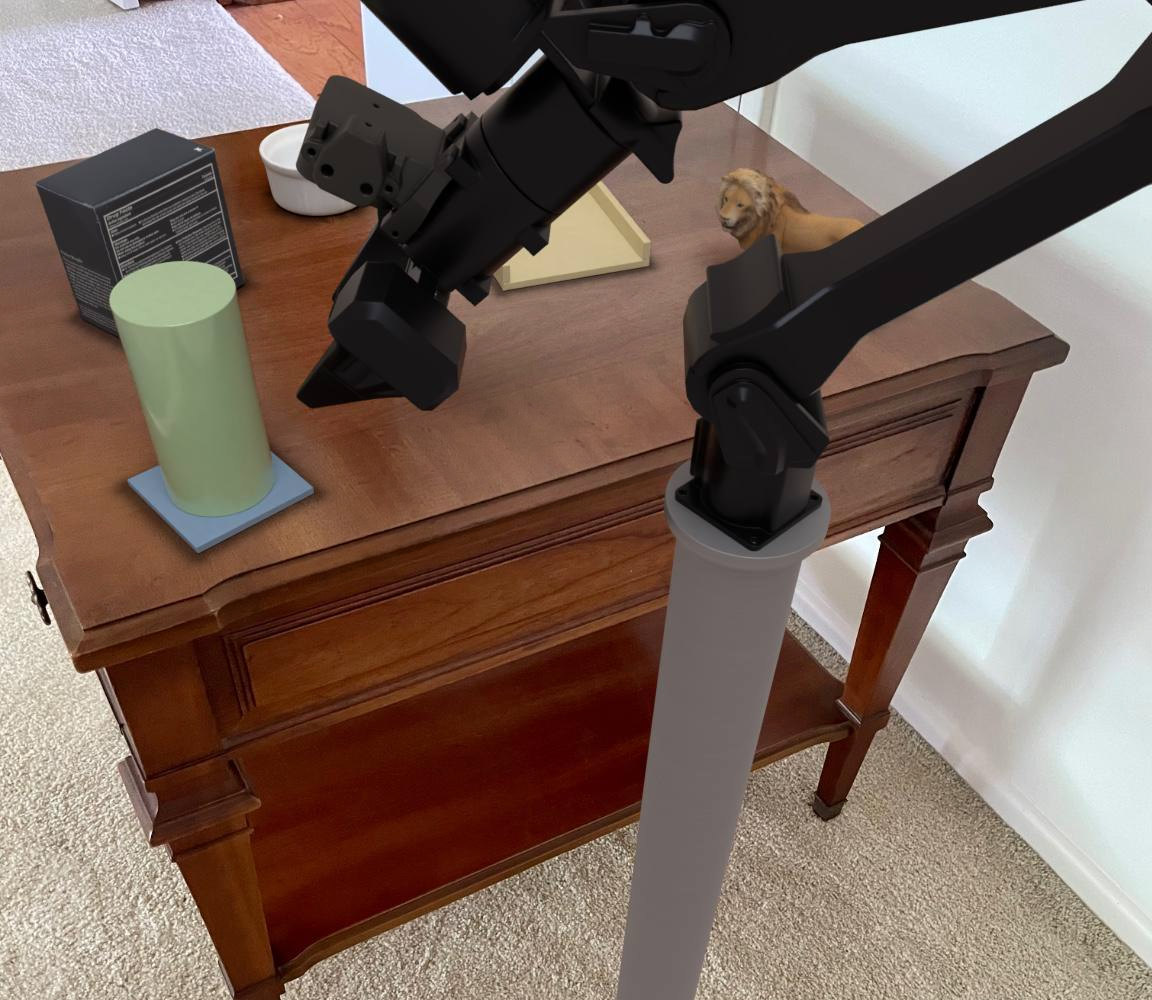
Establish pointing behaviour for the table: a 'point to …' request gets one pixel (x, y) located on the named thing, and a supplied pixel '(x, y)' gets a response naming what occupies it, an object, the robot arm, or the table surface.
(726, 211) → the lion figurine
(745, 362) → the robot arm
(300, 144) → the ramekin
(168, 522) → the mat
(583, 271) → the dish rack
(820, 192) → the table surface
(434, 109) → the table surface
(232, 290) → the pale green cylinder
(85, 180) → the small box
